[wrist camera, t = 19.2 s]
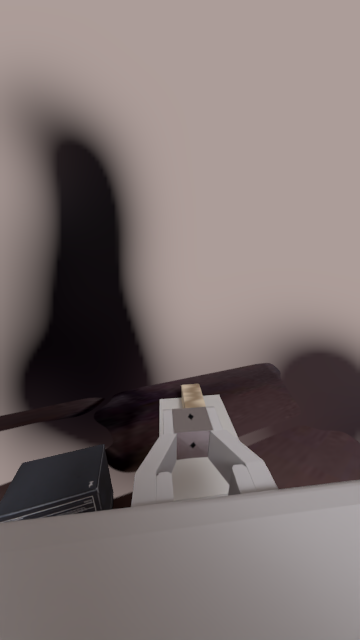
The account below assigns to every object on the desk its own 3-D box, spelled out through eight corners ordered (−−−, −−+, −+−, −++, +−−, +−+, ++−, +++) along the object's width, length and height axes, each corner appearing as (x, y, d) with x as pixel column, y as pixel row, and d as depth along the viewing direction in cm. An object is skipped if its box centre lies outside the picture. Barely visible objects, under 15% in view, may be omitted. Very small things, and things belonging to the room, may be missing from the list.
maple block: (187, 424, 36) (181, 385, 47) (187, 441, 37) (181, 399, 49) (210, 422, 36) (198, 383, 48) (209, 439, 38) (198, 398, 49)
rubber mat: (159, 506, 28) (158, 502, 28) (159, 401, 49) (159, 399, 49) (260, 492, 30) (260, 489, 29) (218, 397, 50) (219, 394, 50)
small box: (114, 489, 30) (106, 440, 27) (110, 545, 24) (99, 490, 21) (40, 510, 28) (21, 459, 25) (16, 578, 22) (-13, 523, 19)
